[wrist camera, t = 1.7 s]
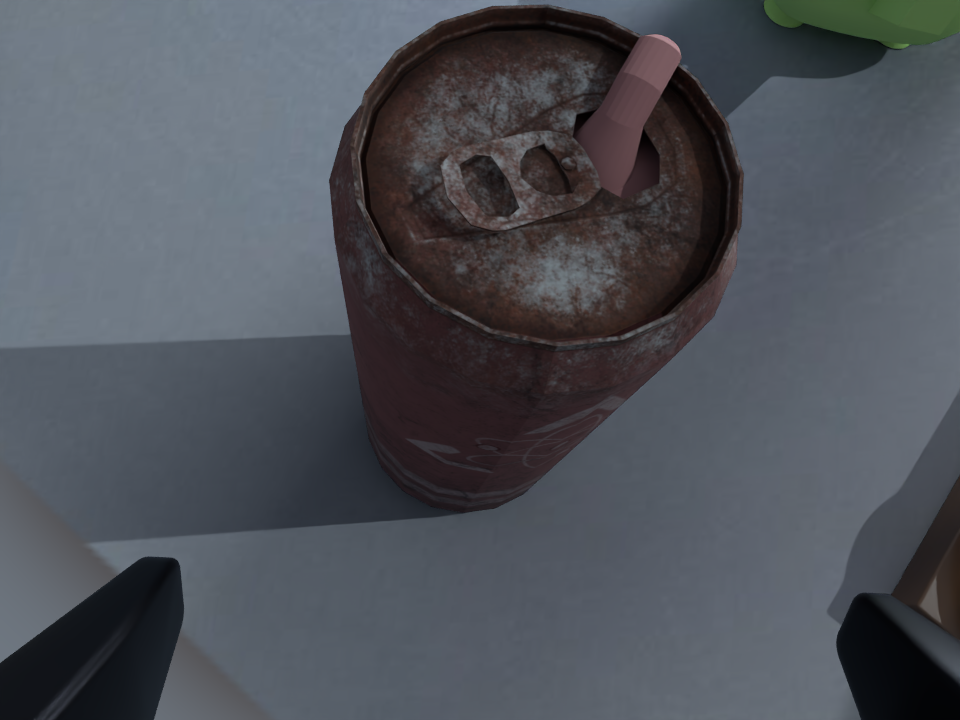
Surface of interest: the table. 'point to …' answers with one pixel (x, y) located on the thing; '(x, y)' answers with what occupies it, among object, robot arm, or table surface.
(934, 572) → the stand
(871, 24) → the teapot
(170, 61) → the table surface
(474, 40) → the can
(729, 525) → the table surface
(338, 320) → the table surface
